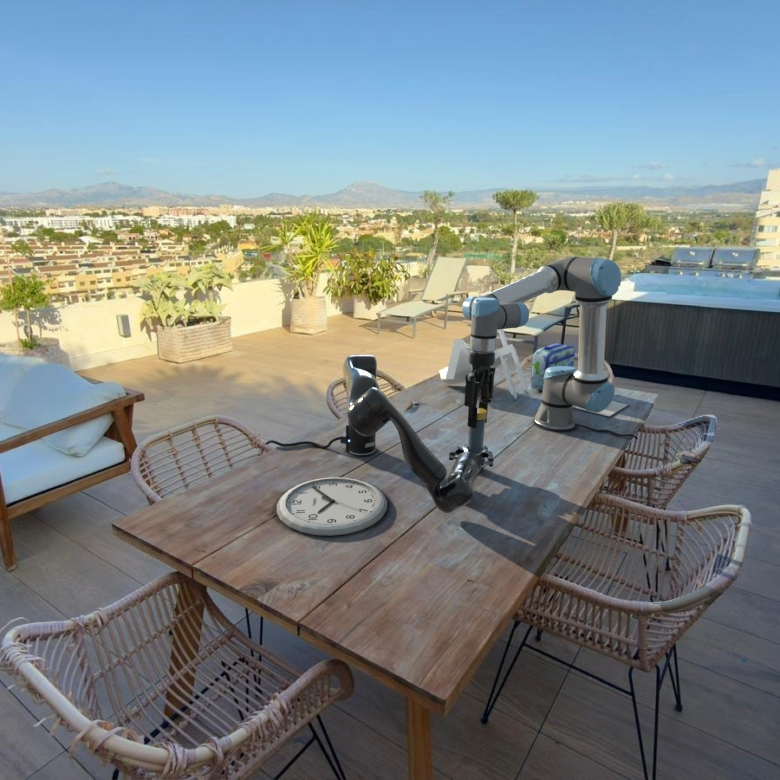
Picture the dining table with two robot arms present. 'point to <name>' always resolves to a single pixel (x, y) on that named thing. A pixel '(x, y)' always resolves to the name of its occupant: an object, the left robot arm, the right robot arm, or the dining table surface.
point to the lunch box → (550, 361)
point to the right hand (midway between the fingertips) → (477, 424)
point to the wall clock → (331, 506)
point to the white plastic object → (462, 366)
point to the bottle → (476, 437)
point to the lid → (481, 414)
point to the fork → (413, 403)
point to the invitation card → (608, 408)
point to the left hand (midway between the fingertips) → (476, 447)
